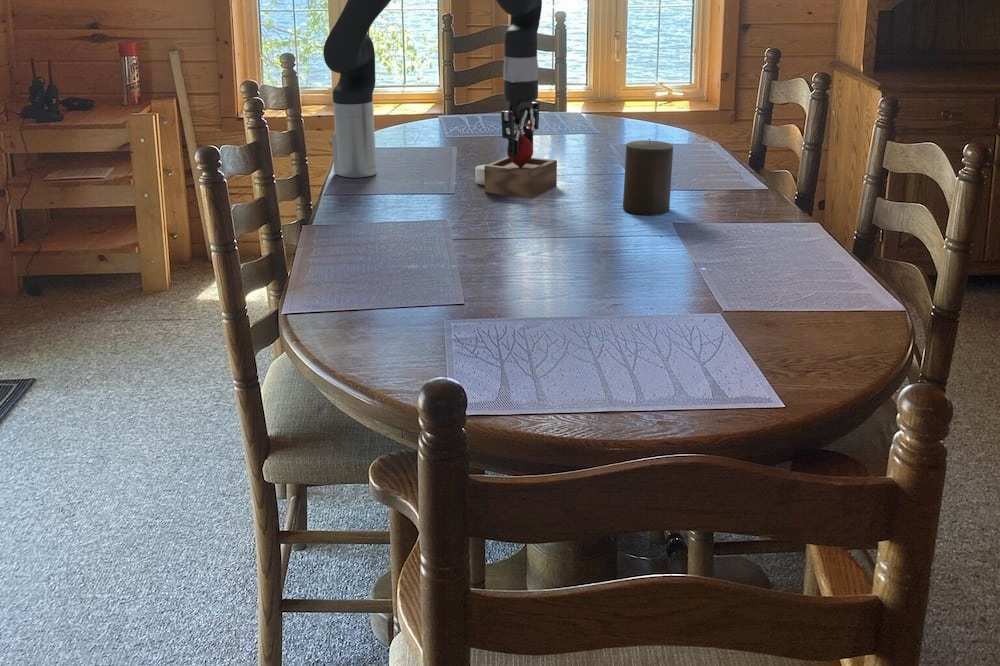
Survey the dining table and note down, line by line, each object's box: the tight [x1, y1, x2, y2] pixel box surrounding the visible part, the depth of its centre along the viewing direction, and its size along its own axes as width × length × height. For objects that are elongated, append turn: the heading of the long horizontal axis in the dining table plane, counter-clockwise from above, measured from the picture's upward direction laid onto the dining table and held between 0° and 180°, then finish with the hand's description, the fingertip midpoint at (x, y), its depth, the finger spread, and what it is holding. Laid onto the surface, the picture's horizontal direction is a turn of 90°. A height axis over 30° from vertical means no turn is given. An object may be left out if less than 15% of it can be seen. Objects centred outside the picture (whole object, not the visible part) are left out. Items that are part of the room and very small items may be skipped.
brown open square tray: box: [484, 155, 558, 199], centre depth 237 cm, size 12×12×6 cm
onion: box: [506, 131, 534, 167], centre depth 235 cm, size 6×6×8 cm
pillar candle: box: [622, 138, 674, 216], centre depth 219 cm, size 10×10×15 cm
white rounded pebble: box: [474, 164, 486, 186], centre depth 245 cm, size 6×6×4 cm
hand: (520, 153), depth 236 cm, fingers open, 6 cm apart
